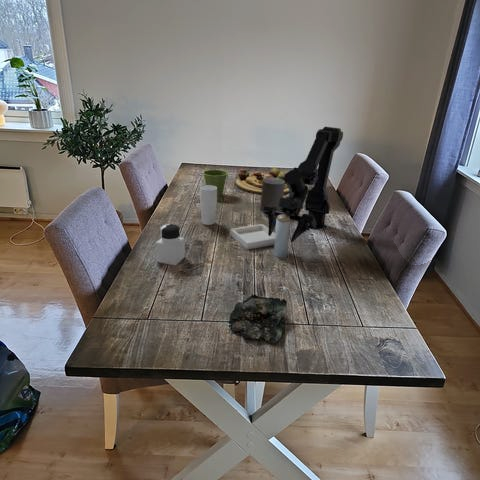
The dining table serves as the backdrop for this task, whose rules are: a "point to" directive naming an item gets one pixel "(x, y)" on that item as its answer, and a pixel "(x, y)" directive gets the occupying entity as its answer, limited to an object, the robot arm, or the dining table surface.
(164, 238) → the medicine bottle
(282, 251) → the spice jar
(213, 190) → the drinking glass
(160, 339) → the dining table surface
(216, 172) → the plant pot
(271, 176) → the wooden plate with food
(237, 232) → the white square dish
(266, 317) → the decorative rock
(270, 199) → the pillar candle
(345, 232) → the dining table surface
